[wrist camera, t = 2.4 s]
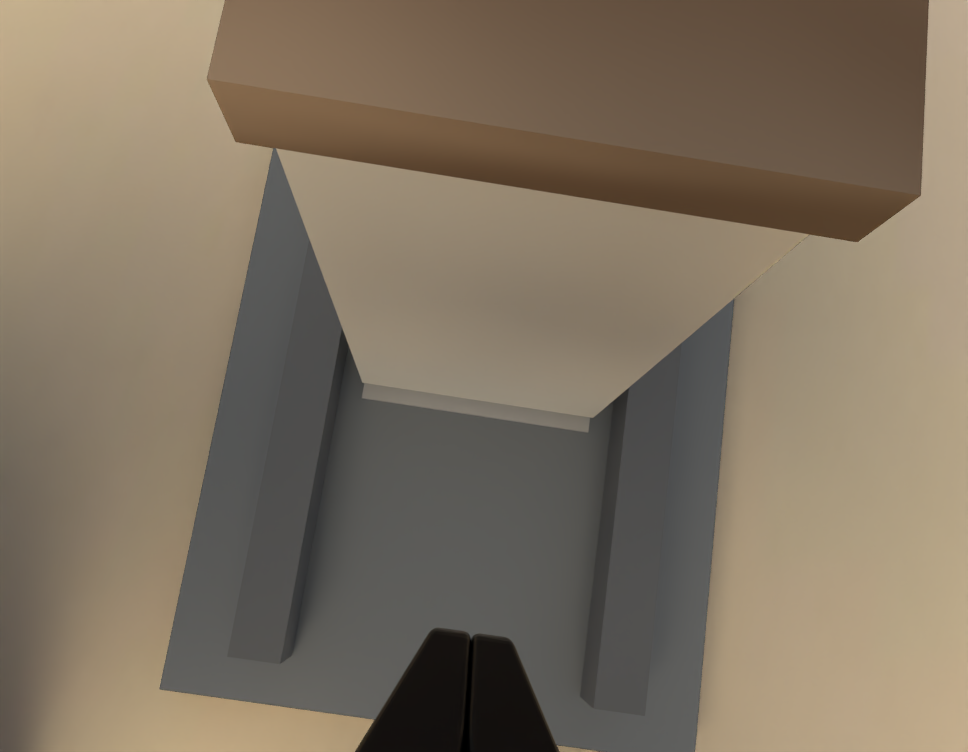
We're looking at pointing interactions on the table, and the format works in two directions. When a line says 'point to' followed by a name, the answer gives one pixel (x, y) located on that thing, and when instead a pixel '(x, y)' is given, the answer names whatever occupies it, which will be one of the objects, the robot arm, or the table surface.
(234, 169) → the table surface
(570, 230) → the switch tab
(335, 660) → the switch housing
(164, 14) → the table surface
